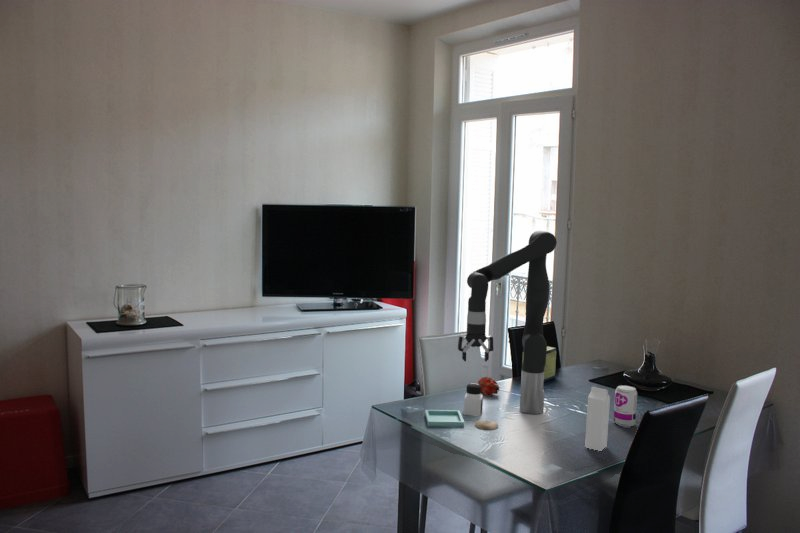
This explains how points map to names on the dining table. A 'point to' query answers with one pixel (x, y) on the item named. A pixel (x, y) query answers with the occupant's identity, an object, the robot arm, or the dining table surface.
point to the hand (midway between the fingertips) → (475, 361)
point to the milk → (597, 419)
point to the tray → (444, 418)
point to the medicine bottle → (473, 400)
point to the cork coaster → (486, 425)
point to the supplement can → (625, 405)
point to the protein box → (549, 363)
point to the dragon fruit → (488, 386)
